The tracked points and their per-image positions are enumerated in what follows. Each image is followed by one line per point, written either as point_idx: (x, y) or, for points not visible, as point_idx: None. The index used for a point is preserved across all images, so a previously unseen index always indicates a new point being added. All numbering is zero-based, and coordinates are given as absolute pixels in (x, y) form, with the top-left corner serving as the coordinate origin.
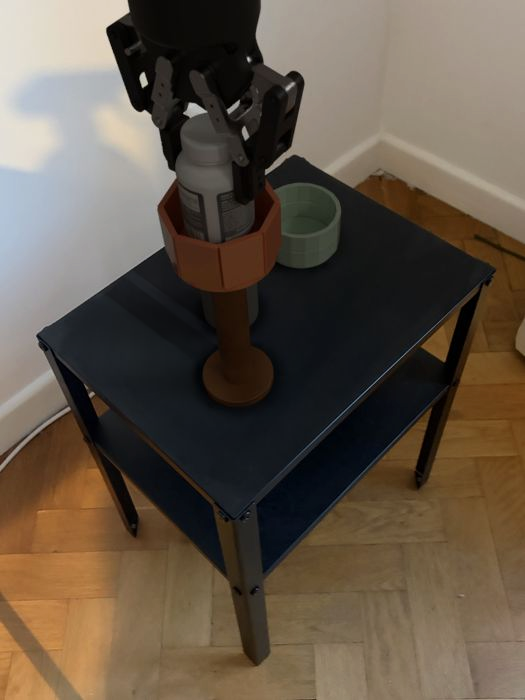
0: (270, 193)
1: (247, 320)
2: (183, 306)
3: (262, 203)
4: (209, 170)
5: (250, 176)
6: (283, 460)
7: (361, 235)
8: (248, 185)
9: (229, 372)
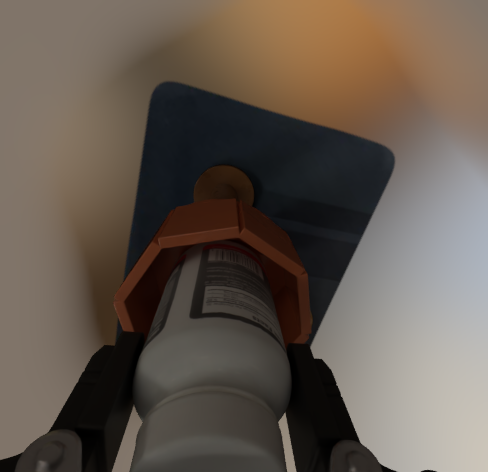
0: None
1: None
2: (303, 233)
3: None
4: (182, 378)
5: (72, 403)
6: (147, 141)
7: None
8: (94, 377)
9: (222, 187)
